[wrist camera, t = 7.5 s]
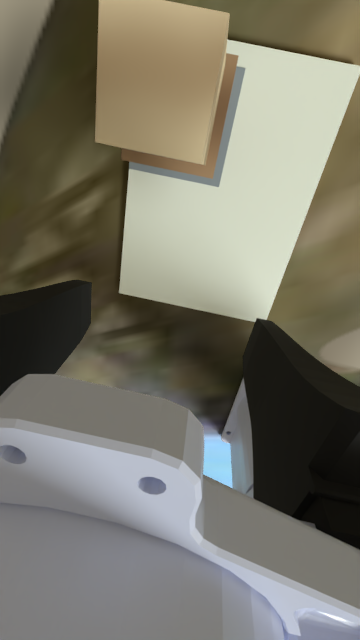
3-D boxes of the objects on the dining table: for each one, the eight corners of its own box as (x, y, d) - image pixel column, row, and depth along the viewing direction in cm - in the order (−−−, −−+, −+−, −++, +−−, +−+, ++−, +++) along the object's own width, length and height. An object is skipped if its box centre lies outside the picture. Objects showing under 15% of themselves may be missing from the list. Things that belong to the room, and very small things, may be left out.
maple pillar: (205, 165, 15) (200, 163, 10) (131, 150, 15) (95, 142, 10) (224, 66, 13) (229, 13, 8) (139, 49, 13) (99, -13, 8)
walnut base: (213, 177, 18) (212, 178, 15) (136, 161, 18) (121, 159, 15) (234, 78, 16) (238, 55, 13) (146, 60, 16) (129, 33, 13)
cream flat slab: (263, 320, 23) (264, 324, 23) (121, 290, 23) (118, 293, 23) (357, 70, 15) (362, 66, 15) (143, 26, 16) (140, 21, 15)
